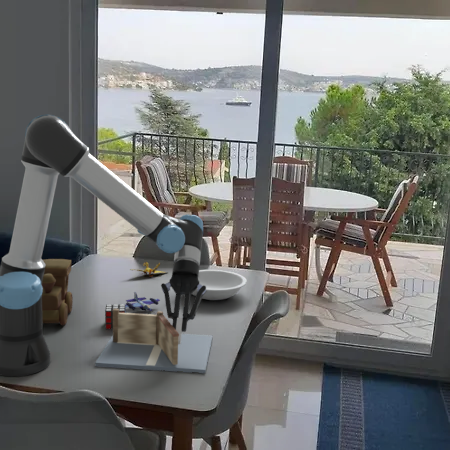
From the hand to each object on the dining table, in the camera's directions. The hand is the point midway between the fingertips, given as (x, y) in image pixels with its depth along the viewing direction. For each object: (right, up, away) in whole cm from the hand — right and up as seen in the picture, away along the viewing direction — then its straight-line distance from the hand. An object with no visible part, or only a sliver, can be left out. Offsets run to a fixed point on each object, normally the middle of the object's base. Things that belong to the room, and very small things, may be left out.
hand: (177, 342), depth 163 cm
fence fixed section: (-12, -2, +11) cm, 16 cm away
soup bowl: (+8, +5, +55) cm, 56 cm away
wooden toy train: (-42, +2, +29) cm, 51 cm away
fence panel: (-3, -4, +3) cm, 6 cm away
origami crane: (-17, +11, +76) cm, 79 cm away
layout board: (-6, -4, +8) cm, 11 cm away
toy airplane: (-14, +2, +38) cm, 40 cm away
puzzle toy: (-21, 0, +25) cm, 33 cm away
